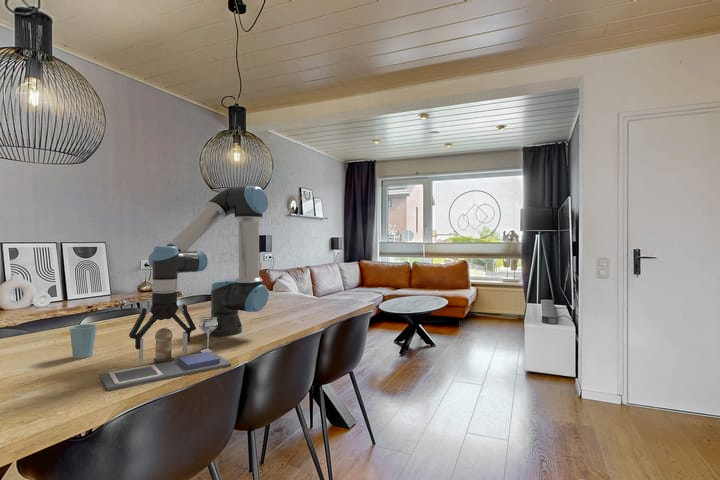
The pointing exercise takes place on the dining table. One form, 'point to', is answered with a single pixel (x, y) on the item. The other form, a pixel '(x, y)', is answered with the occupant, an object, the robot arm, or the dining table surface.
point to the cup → (83, 340)
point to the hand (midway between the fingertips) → (163, 355)
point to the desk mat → (163, 370)
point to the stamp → (163, 346)
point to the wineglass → (208, 328)
